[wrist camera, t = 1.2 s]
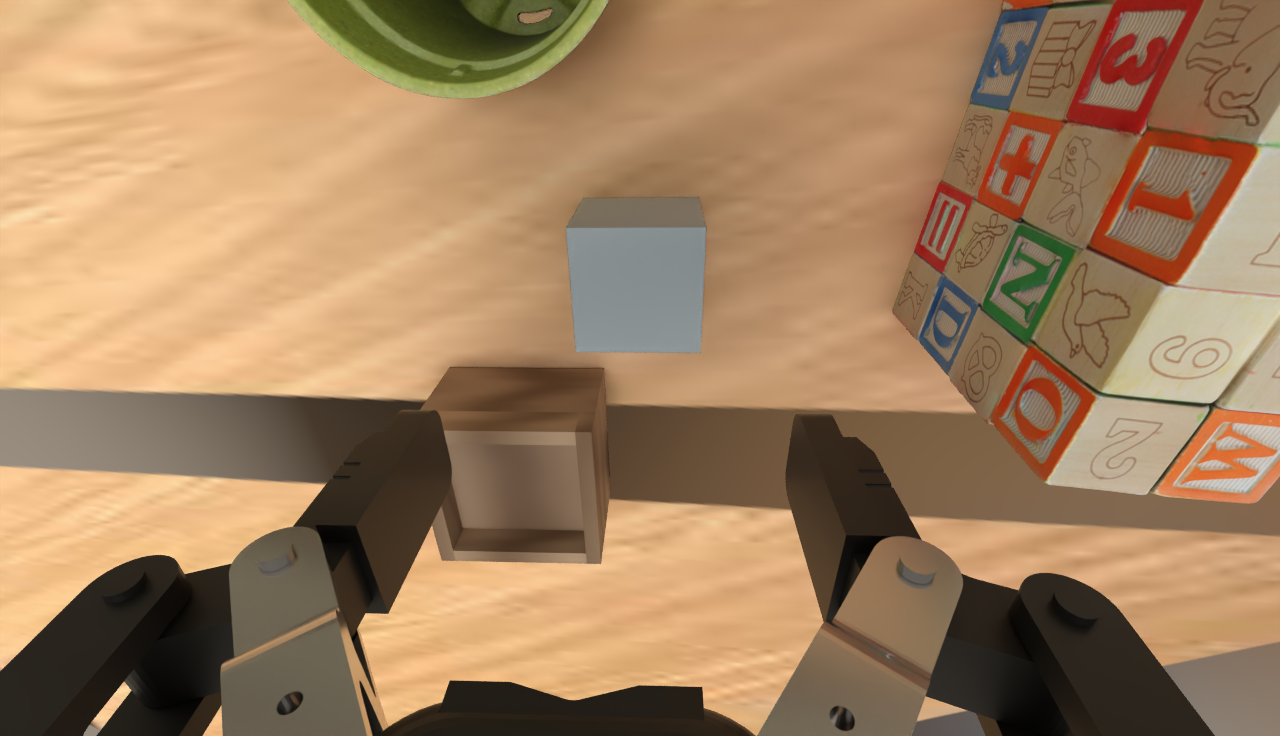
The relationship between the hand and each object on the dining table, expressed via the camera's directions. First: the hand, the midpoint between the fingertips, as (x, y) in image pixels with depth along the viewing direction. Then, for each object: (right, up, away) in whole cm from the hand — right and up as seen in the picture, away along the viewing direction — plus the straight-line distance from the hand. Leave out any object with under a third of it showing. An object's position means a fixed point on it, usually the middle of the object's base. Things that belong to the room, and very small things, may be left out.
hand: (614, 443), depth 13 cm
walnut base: (-5, -2, +18) cm, 18 cm away
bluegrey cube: (+1, +7, +13) cm, 14 cm away
